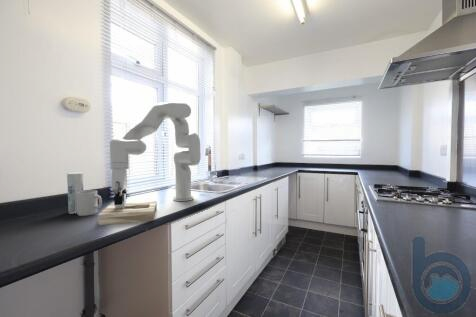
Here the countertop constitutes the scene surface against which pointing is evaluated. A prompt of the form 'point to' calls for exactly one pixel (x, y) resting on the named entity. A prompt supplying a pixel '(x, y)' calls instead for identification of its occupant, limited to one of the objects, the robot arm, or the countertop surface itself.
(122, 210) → the keyhole plate
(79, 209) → the mug
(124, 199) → the peg
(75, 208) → the tall grey container
